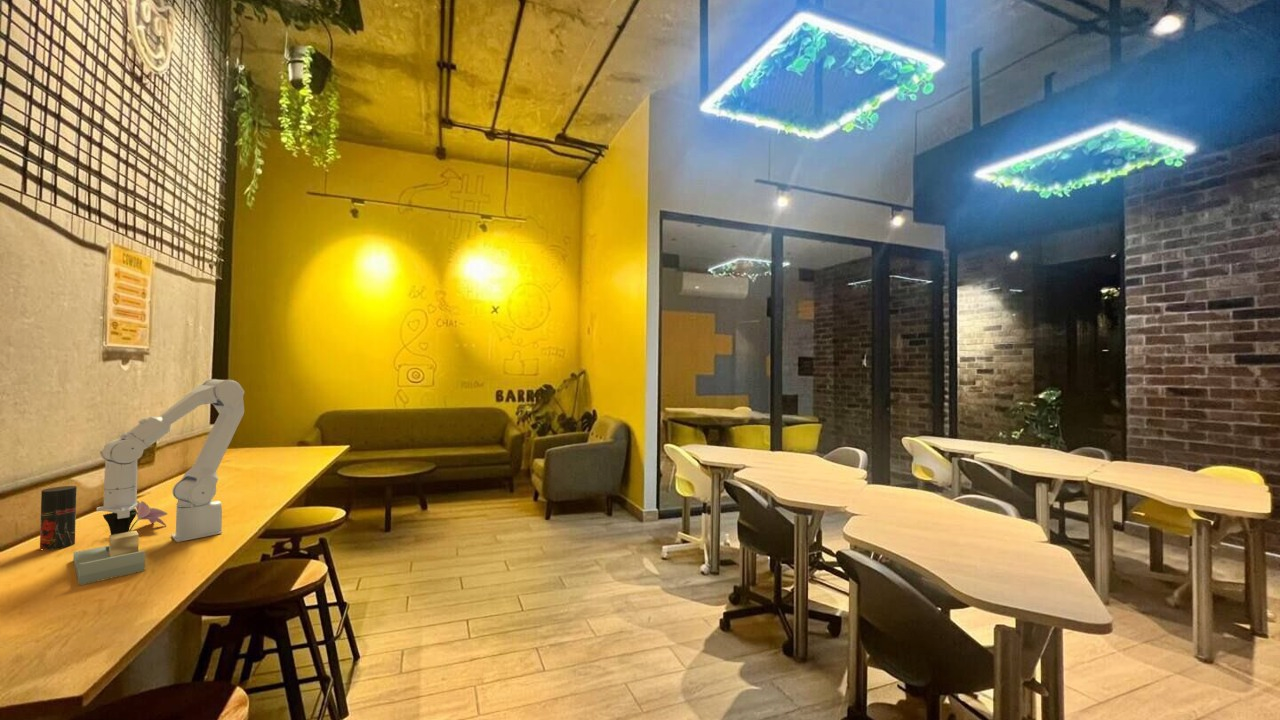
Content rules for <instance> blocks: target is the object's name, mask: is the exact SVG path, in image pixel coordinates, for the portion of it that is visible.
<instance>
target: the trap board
mask: <svg viewBox="0 0 1280 720" xmlns="http://www.w3.org/2000/svg"><path fill="white" fill-rule="evenodd" d="M73 563H74V570H75V573H76V576H77V577H76V578H77V582H78V585H79V586H83V585H88V584H92V583H95V582H94V581H97V582H99V581H98V580H101V581H103V580H102V579H106V580H108V579H107V578H110V579H112V578H111V577H115V578H117V577H116V576H119V577H123V576H122V575H124V576H127V574H128V575H132V574H136V572H137V573H140V571H141V572H144V571H145V567H146V550H140V551H139V550H138V552H134V553H129V554H125V555H120V556H115V557H110V555H109V545H105V546H99V547H94V548H89V549H85V550H79V551H74V552H73ZM91 582H92V583H91ZM87 583H88V584H87Z"/></svg>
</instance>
